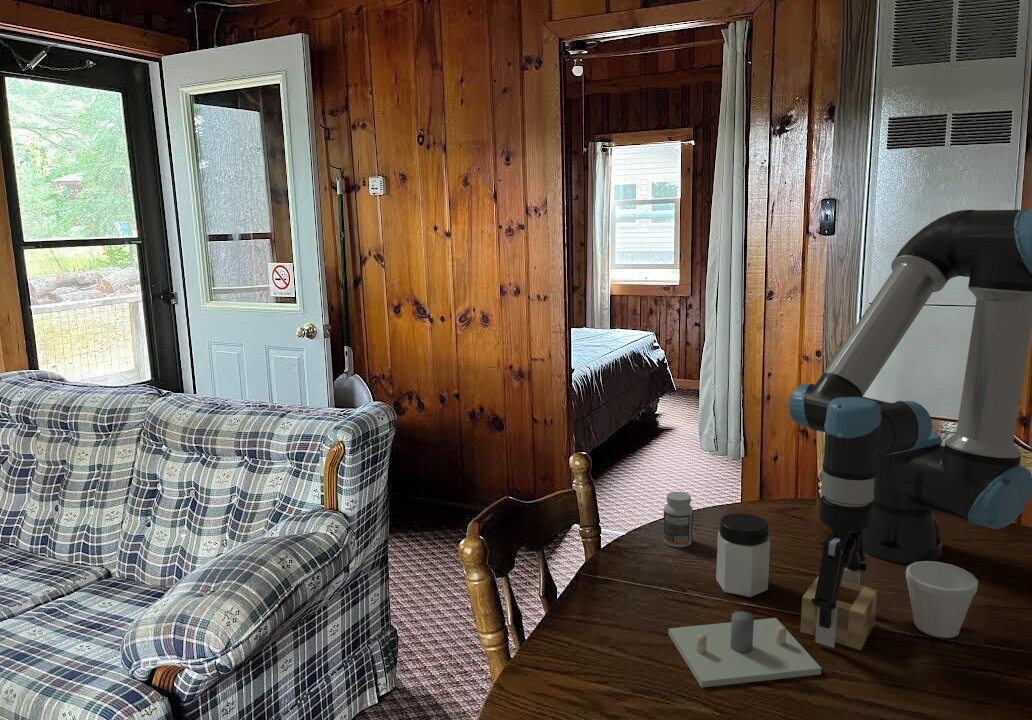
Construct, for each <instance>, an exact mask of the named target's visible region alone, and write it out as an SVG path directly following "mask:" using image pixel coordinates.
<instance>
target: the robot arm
mask: <svg viewBox="0 0 1032 720" xmlns="http://www.w3.org/2000/svg"><path fill="white" fill-rule="evenodd" d="M890 267H891V271H892V272H891V273H890V274H889V277H888V278H887V280H886V281H885V282H884V284H883V285H882V287H880V289H879V291H878V293H876V296H875V297H874V298H873V300H872V302H871V303H870V304H869V305H868V307H867V309H866V310H865V311H864V312H863V315H862V316H861V318H860V319H859V321H858V322H857V324H856V325H855V326H854V328H853V329H852V330H851V332H850V334H849V335H848V336H847V338H846V340H845V341H844V342H843V344H842V345H841V347H840V348H839V350H838V351H837V353H836V354H835V356H834V357H833V359H832V360H831V361H830V363H829V365H828V366H827V368H826V369H825V371H824V372H823V374H822V375H821V376H820V378H819V379H818V380H817V381H816V383H802V384H800V385H798V386H797V387H796V388H795V389H793V391H792V392H791V394H790V396H789V400H788V407H787V408H788V413H789V416H790V418H791V419H792V421H793V422H795V423H796V424H797V425H800V426H803V427H805V428H808V429H811V430H812V431H815V432H816V431H817V432H822V433H824V440H823V441H824V444H823V445H824V446H823V463H822V472H819V473H818V474H817V475H818V476H817V477H818V478H819V479H821V480H822V482H821V488H820V489H821V490H820V492H821V494H822V496H821V497H820V499H819V512H818V513H819V514H818V517H819V520H820V521H821V522H822V523H823V524H824V525H827V526H828V527H829V528H830V529H831V532H830V533H828V534H827V537H826V539H824V541H823V543H822V545H823V548H822V557H821V563H820V567H819V573H818V576H819V577H818V576H817V577H818V582H817V588H816V593H815V598H814V599H813V598H812V603H813V604H814V606H817V622H816V636H814V637H815V641H814V642H815V643H817V644H821V645H824V646H827V647H830V648H832V649H833V648H835V645H836V643H835V637H836V624H837V610H838V606H836V602H837V598H838V593H839V589H840V585H841V581H845V582H849V583H853V584H857V585H861V584H860V582H861V571H863V572H866V571H867V566H868V565H867V564H866V563H864V562H865V559H866V556H865V553H867V554H869V555H871V556H873V557H875V558H879V559H882V560H885V561H889V562H893V563H901V564H909V565H911V564H913V563H915V562H921V561H934V562H936V560H938V559H940V557H941V556H942V547H943V542H942V538H941V533H940V531H939V526H938V523H937V519H936V515H935V511H937V512H940V513H943V514H946V515H949V516H952V517H955V518H958V519H961V520H964V521H966V522H968V523H970V524H972V525H979V526H983V527H986V528H989V529H993V530H997V529H998V530H999V529H1002V528H1005V527H1007V526H1009V525H1010V524H1012V523H1013V522H1015V521H1016V520H1017V519H1018V518H1019V516H1020V515H1021V514H1022V512H1023V511H1024V509H1025V508H1026V507H1027V504H1028V502H1029V500H1030V497H1031V495H1032V472H1031V471H1030V470H1029V469H1027V468H1026V467H1025V466H1023V465H1021V460H1022V451H1021V450H1020V449H1019V448H1018V447H1017V446H1016V445H1015V442H1014V438H1015V431H1016V425H1017V419H1018V414H1019V409H1020V401H1021V394H1022V390H1023V389H1022V388H1023V383H1024V376H1025V372H1026V365H1027V359H1028V353H1029V347H1030V342H1031V341H1030V340H1031V333H1032V209H1029V208H1027V209H1025V208H1024V209H989V210H988V209H985V210H984V209H982V210H980V209H977V210H976V209H962V210H957V211H952V212H950V213H947V214H944V215H942V216H940V217H938V218H937V219H935V220H933V221H931V222H930V223H929V224H927V225H926V226H924V227H923V228H922V229H920V230H919V231H918V232H916V233H915V234H914V235H913V236H912V237H911V238H910V239H909V240H908V241H906V242H905V244H904V245H903V246H902V247H901V249H900V250H899V251H898V253H897V254H896V256H895V257H894V259H893V260H892V262H891V264H890ZM957 277H963V278H965V277H966V278H969V279H968V286H967V289H968V290H969V291H970V292H971V293H972V294H973V295H974V298H975V307H974V312H973V321H972V326H971V334H970V339H969V346H968V351H967V352H968V353H967V358H966V366H965V373H964V379H963V385H962V392H961V399H960V407H959V411H958V412H959V413H958V418H957V424H956V431H955V433H954V434H953V435H952V436H950V437H948V438H946V439H945V441H944V444H943V445H942V443H943V440H942V436H941V435H940V434H938V433H936V432H934V431H932V430H933V421H932V418H931V414H930V413H929V412H928V410H927V409H926V408H925V407H924V406H923V405H922V404H920V403H919V402H916V401H914V400H913V401H912V400H898V401H895V402H888V401H884V400H879V399H874V398H870V397H866V396H865V394H866V392H868V390H869V388H870V387H871V385H872V384H873V382H874V381H875V379H876V378H877V376H878V375H879V374H880V371H881V370H882V368H883V367H884V365H886V363H887V361H888V360H889V359H890V358H891V356H892V354H893V353H894V351H895V350H896V348H897V346H898V345H899V344H900V342H901V341H902V339H903V337H904V336H905V335H906V333H907V331H908V330H909V329H910V327H911V325H912V324H913V322H914V321H915V320H916V319H917V318H916V317H918V315H919V314H920V313H921V310H922V309H923V307H924V306H925V305H926V303H927V301H928V300H929V299H930V297H931V295H932V294H933V293H937V292H940V291H941V290H943V289H944V288H945V286H946V284H947V283H948V281H950V280H951V279H954V278H957Z"/></svg>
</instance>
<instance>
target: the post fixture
mask: <svg viewBox="0 0 1032 720" xmlns="http://www.w3.org/2000/svg"><path fill="white" fill-rule="evenodd" d="M668 636H669V638H670V639H671V641H672V642H673V644H674V646H675V647H676V649H677V650H678V652H679V654H680V655H681V657H682V658H683V660H684V662H685V663H686V665H687V666H688V669H690V671H691V673H692V675H693V677H695V679H696V681H697V684H699V686H700V687H701V688H708V687H709V688H710V687H718V686H719V687H720V686H727V685H728V686H729V685H737V684H748V683H755V682H764V681H772V680H774V681H775V680H781V679H791V678H800V677H801V678H803V677H808V676H809V677H810V676H820V675H822V667H821V666H820V665H819V663H818V662H816V660H815V659H814V658H813V657H812V655H810V654H809V652H808V651H806V649H805V648H804V647H803V646H802V645H801V643H799V642H798V641H797V639H796V638H795V637H794V636H793V635H792V634H791V633H790V631H788V629H787V627H785V626H784V625H783V624H782V623H781V622H780V621H779V619H778V618H777V617H772V618H771V617H770V618H761V619H754V616H753V615H752V614H751V613H749V612H746V611H735V612H733V613H732V614H731V621H730V622H722V623H721V622H719V623H711V624H701V625H699V624H698V625H690V626H681V627H672V628H671V627H670V628H668Z"/></svg>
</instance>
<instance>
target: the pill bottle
mask: <svg viewBox="0 0 1032 720" xmlns="http://www.w3.org/2000/svg"><path fill="white" fill-rule="evenodd" d="M691 496H692V495H690V494H689V493H687V492H684V491H671V492H669V493H667V494H666V502H667V503H666V504H665V506H664V508H663V519H662V520H663V525H662V526H663V531H662V532H663V534H662V538H663V542H664V543H665V544H666V545H667V546H670V547H675V548H685V547H689V546H690V545H691V544H692V542H693V527H694V526H693V525H694V509H693V506H691V505H690V504H691V502H692V498H691Z"/></svg>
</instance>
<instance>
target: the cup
mask: <svg viewBox="0 0 1032 720" xmlns="http://www.w3.org/2000/svg"><path fill="white" fill-rule="evenodd" d="M905 580H906V584H907V589H908V593H909V599H910V604H911V611H912V612H911V613H912V616H913V623H914V625H915V627H916V629H917V630H918V631H920V632H921V633H922V634H924V635H926V636H929V637H932V638H936V639H942V640H949V639H955V638H956V637H958V635H959V633H960V630H961V628H962V626H963V623H964V621H965V619H966V615H967V613H968V611H969V608H970V605H971V603H972V600H973V598H974V597H975V596H976V593H977V591H978V585H979V580H978V579H977V578H976V577H975V576H974V574H973V573H971V571H967V570H966V569H965V568H962V567H959V566H957V565H954V564H952V563H951V564H950V563H946V562H941V561H921V562H915V563H913V564H909V565H907V566H906V570H905Z"/></svg>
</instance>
